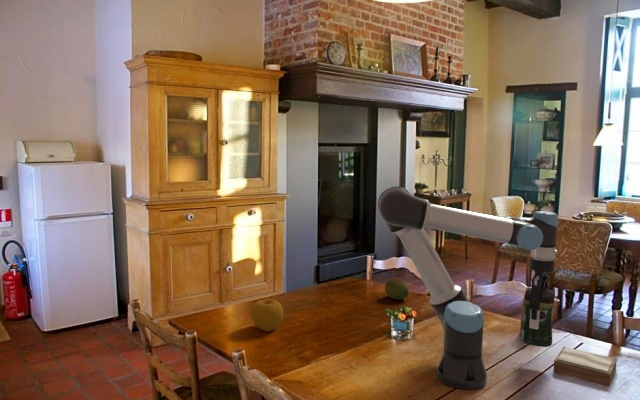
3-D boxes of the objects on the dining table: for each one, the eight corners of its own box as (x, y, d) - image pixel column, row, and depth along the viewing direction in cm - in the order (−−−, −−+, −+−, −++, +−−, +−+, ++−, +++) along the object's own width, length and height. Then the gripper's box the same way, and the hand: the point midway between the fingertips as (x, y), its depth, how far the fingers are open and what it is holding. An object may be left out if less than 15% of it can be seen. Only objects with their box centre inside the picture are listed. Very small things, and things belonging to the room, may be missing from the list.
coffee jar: (551, 341, 172) (555, 288, 170) (552, 349, 165) (556, 294, 163) (520, 336, 176) (524, 284, 174) (520, 344, 168) (524, 290, 166)
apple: (246, 332, 197) (246, 304, 196) (258, 321, 210) (258, 294, 209) (277, 335, 194) (277, 306, 193) (287, 324, 207) (287, 297, 206)
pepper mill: (532, 337, 194) (534, 295, 192) (518, 334, 197) (520, 292, 195) (536, 333, 198) (538, 292, 196) (522, 330, 201) (524, 289, 199)
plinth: (609, 386, 155) (610, 373, 155) (553, 372, 165) (554, 359, 164) (615, 370, 166) (616, 357, 166) (563, 357, 176) (563, 345, 176)
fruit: (395, 293, 250) (396, 273, 249) (415, 299, 241) (416, 279, 240) (379, 297, 243) (379, 277, 242) (399, 304, 233) (399, 283, 232)
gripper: (546, 266, 156) (541, 336, 159) (562, 255, 173) (556, 319, 176) (521, 262, 161) (516, 330, 163) (538, 251, 177) (534, 314, 180)
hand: (537, 324), depth 169 cm, fingers closed on coffee jar, 8 cm apart
